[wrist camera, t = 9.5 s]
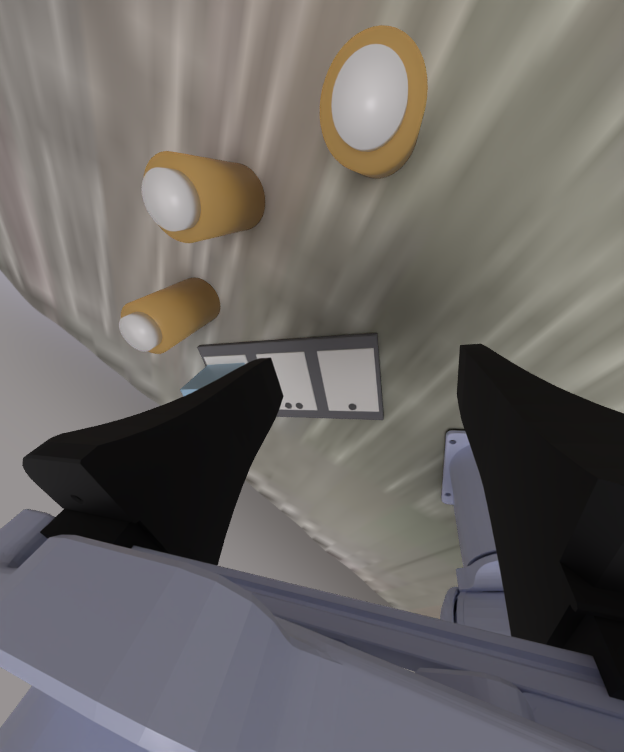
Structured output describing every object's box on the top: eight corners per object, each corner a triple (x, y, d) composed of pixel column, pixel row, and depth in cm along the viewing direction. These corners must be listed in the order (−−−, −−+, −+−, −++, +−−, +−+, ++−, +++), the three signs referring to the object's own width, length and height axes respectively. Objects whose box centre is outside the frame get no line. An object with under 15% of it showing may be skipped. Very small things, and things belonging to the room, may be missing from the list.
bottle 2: (226, 318, 23) (171, 358, 17) (191, 322, 24) (130, 360, 19) (209, 274, 21) (143, 303, 16) (173, 280, 22) (99, 309, 17)
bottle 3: (418, 168, 14) (428, 155, 9) (351, 185, 16) (323, 182, 10) (419, 73, 13) (431, -16, 7) (342, 100, 14) (303, 42, 8)
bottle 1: (271, 224, 18) (214, 237, 12) (225, 234, 19) (154, 251, 14) (255, 155, 16) (180, 136, 11) (205, 171, 17) (114, 162, 12)
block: (258, 398, 26) (238, 427, 23) (223, 399, 28) (200, 426, 24) (244, 362, 24) (220, 388, 21) (207, 364, 26) (180, 389, 22)
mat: (383, 416, 24) (383, 421, 24) (229, 412, 29) (226, 415, 29) (377, 333, 20) (376, 336, 20) (199, 345, 25) (196, 347, 25)
